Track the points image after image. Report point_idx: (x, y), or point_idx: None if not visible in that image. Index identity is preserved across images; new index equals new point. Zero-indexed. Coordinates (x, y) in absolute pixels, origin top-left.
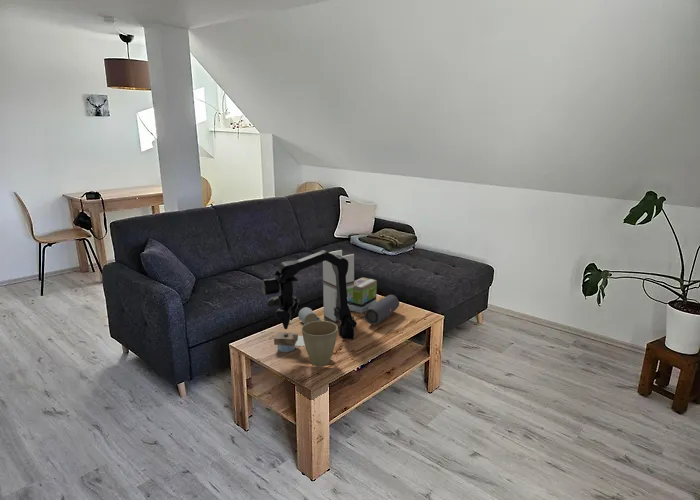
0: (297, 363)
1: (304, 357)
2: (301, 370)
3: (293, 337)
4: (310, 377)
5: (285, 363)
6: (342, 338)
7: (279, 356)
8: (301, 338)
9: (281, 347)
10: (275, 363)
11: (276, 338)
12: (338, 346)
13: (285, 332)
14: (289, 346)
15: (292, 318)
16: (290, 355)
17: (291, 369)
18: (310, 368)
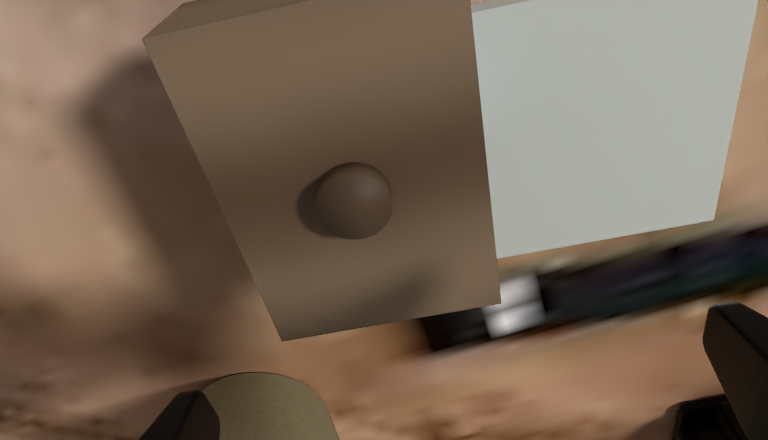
0: (155, 296)
1: None
2: (78, 358)
3: (337, 312)
4: (41, 429)
5: (84, 209)
6: (679, 421)
7: None
8: (651, 155)
9: None
10: (9, 116)
11: (167, 90)
12: (549, 425)
13: (479, 129)
14: None
15: (732, 399)
16: None
17: (33, 295)
18: (147, 393)
